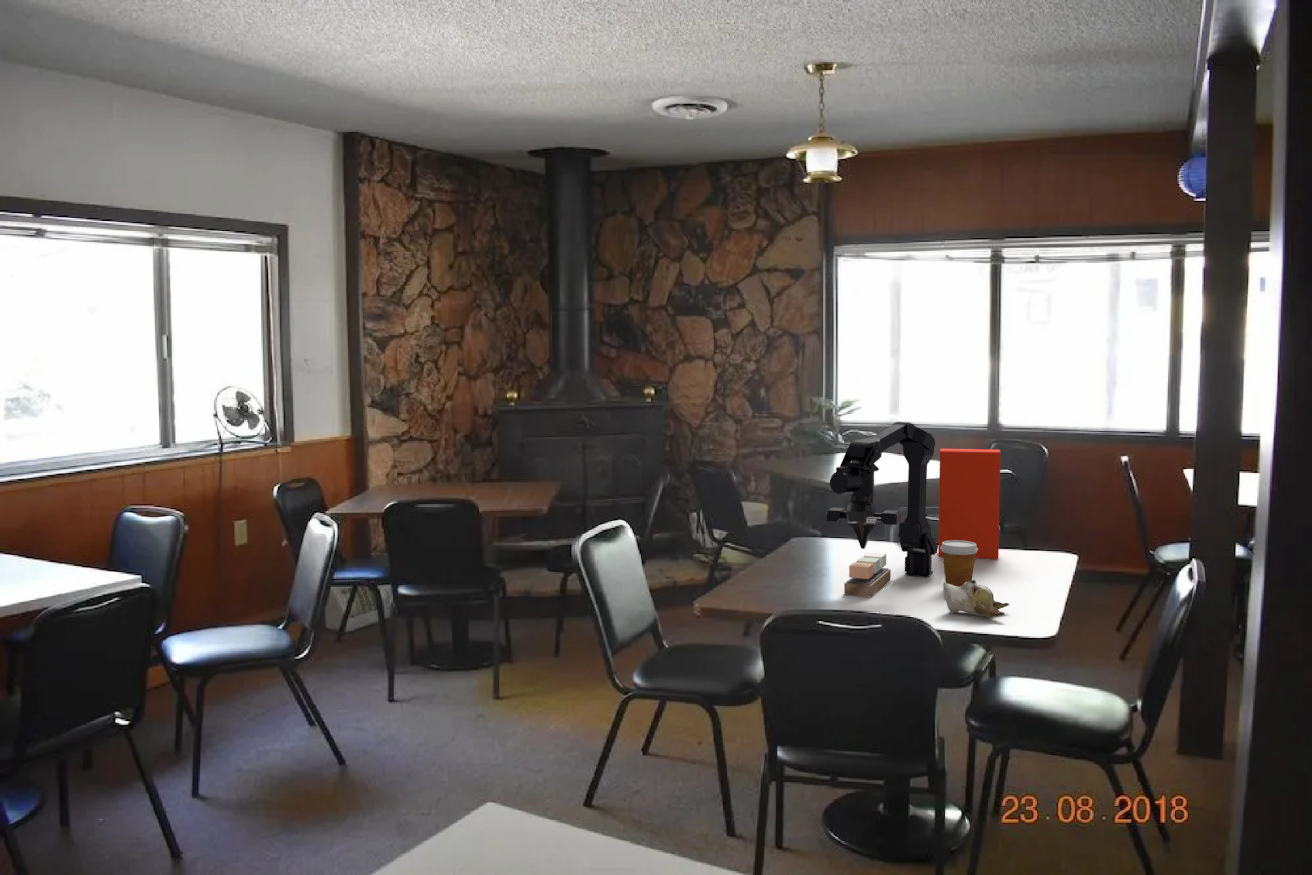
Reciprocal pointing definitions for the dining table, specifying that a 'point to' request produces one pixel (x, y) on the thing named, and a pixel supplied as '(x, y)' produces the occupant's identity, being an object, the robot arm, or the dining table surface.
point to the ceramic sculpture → (972, 599)
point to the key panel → (867, 584)
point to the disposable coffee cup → (958, 561)
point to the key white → (877, 555)
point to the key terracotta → (861, 570)
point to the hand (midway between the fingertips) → (863, 548)
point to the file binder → (970, 499)
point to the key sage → (873, 561)
